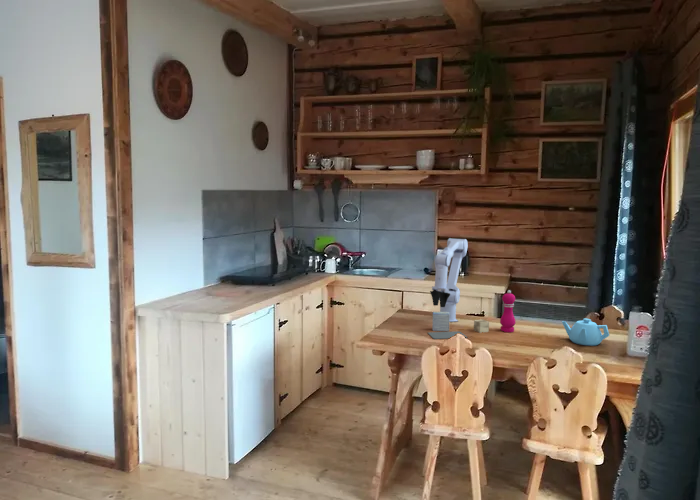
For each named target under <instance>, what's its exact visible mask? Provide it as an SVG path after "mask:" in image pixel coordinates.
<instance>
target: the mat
mask: <svg viewBox="0 0 700 500" xmlns="http://www.w3.org/2000/svg"><path fill="white" fill-rule="evenodd" d="M457 333H460V334H462V335H464V336H465V337H466V338H465V339H468V336H467V335H465V334H464V333H463V332H462V331H457V330H456V331H431V332H430V331H429V332H427V335H428V336H430V338H432V339H433V340H449V339H448V338H450V337H452V336H454V335H455V334H457Z"/></svg>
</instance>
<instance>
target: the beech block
mask: <svg viewBox="0 0 700 500" xmlns="http://www.w3.org/2000/svg"><path fill="white" fill-rule="evenodd" d="M489 327H490V321H487V320H485V319H474V320H473V331H474V332H477V333H481V334H482V332H483V333H489V331H490V330H489V329H490V328H489Z"/></svg>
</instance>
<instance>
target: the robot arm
mask: <svg viewBox="0 0 700 500" xmlns="http://www.w3.org/2000/svg"><path fill="white" fill-rule="evenodd" d="M468 245H469V243H468V240H467V239H466V238H451V237H449V238H448V239H447V242H446V246H445V247H444V248H443V249H442V251H441V252H440V253H438V254H436V255H435V258H434V266H435V267H434V268H435V278H434V286H431V290H430V291H429V292H430V295H431V298H432V305H433V306H439V312H449V314H450V317H449V323H453V322H459V320H458V319H457V316H456V315H457V313H456V312H457V304H458V303H459V302H460V296H461V291H460V288H459V287H458V286H457V282H458V278H459V274H460V269H461V264H462V260H463V258H464V257H466V256H467V251H468ZM449 267H450V269H449ZM448 269H449V271H448ZM448 272H449V273H448Z"/></svg>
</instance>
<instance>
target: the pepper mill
mask: <svg viewBox="0 0 700 500" xmlns="http://www.w3.org/2000/svg"><path fill="white" fill-rule="evenodd" d="M515 301H516V296H515V295H514V294H513V293H512V290H511V289H508V290H507V293H504V294H503V295H502V302H503V305H502V306H503V313H502V315H501V317H500V319H499V323H500V325H501V326H500V331H502V332H503V331H504V333H514V331H515V327H514V326H516V318H515V315H514V312H513V309H514V307H515Z"/></svg>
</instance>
